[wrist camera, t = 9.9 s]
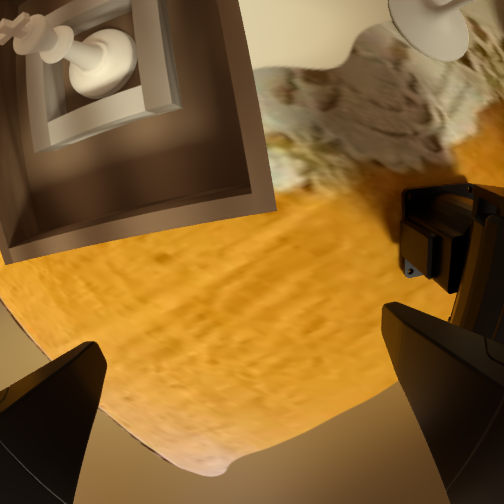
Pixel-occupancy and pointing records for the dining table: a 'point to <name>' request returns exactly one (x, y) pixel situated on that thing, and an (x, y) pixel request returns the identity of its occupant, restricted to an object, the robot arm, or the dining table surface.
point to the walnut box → (130, 129)
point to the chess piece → (76, 53)
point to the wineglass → (432, 26)
